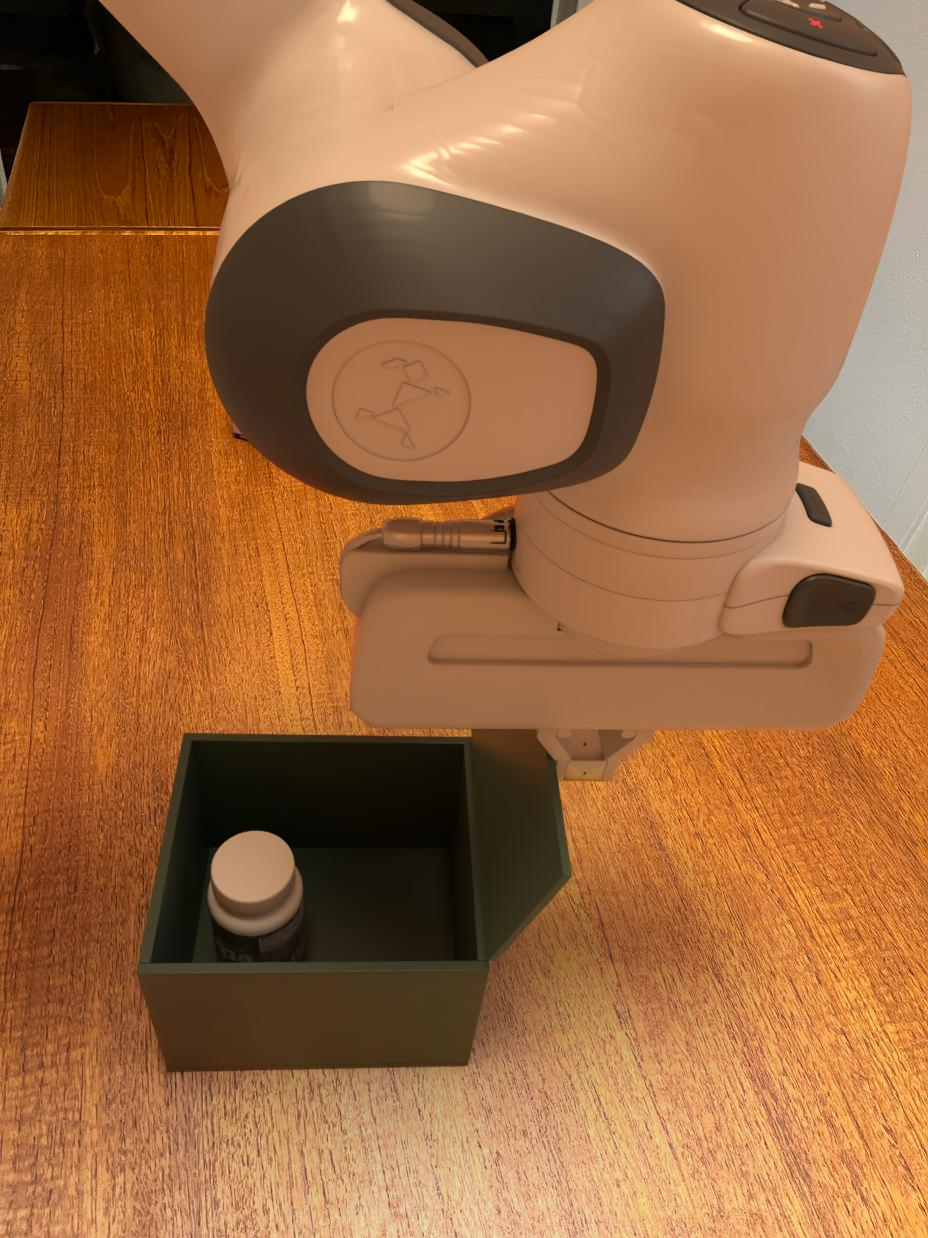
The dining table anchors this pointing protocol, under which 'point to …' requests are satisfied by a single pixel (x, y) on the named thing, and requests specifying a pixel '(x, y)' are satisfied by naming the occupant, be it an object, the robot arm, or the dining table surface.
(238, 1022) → the open box
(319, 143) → the robot arm
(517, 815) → the dark green box lid
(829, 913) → the dining table surface
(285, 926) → the pill bottle
